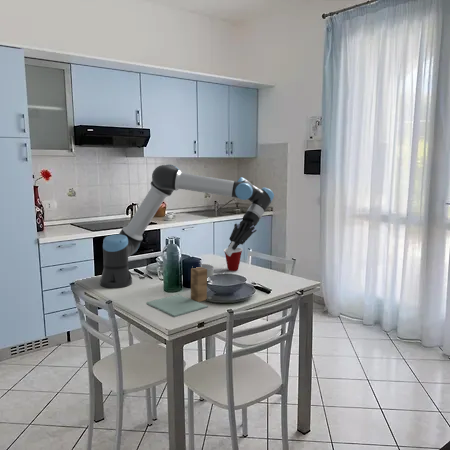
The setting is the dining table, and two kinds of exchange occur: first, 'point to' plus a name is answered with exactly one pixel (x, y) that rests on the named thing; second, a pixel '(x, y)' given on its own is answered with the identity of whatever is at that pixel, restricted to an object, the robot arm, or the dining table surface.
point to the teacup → (208, 269)
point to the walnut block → (198, 284)
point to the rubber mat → (177, 305)
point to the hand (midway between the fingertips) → (227, 254)
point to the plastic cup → (233, 259)
